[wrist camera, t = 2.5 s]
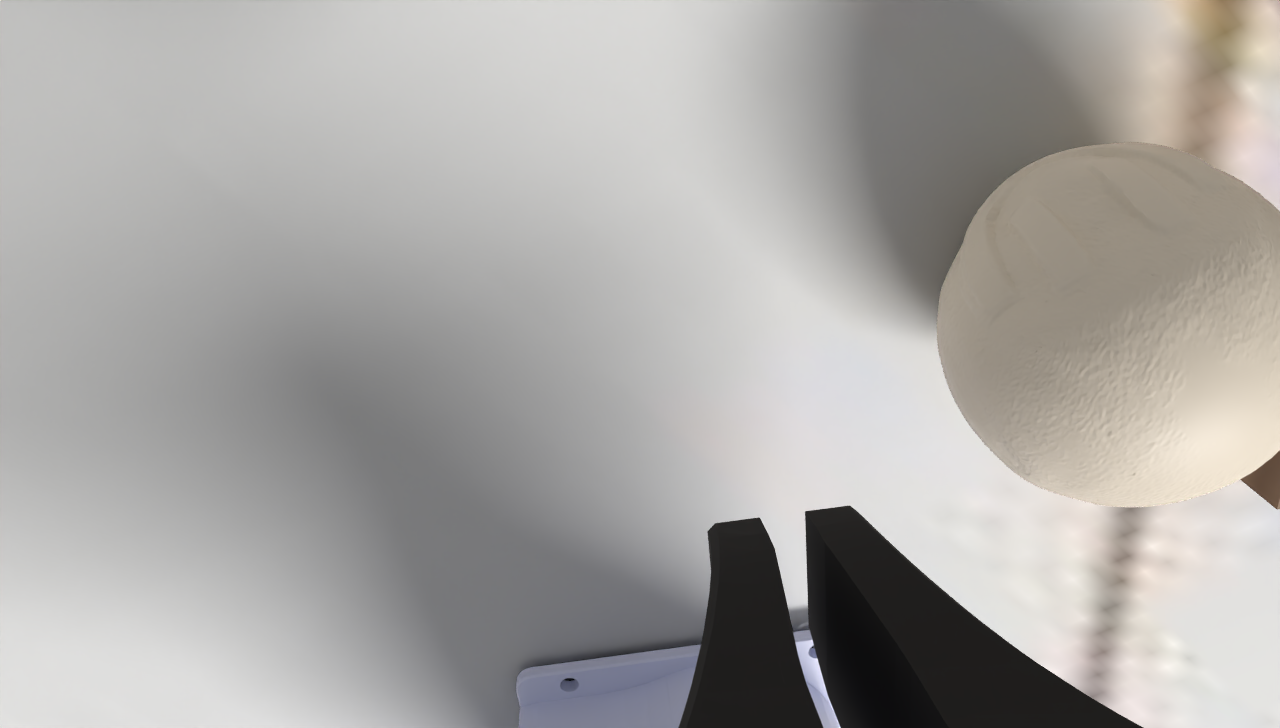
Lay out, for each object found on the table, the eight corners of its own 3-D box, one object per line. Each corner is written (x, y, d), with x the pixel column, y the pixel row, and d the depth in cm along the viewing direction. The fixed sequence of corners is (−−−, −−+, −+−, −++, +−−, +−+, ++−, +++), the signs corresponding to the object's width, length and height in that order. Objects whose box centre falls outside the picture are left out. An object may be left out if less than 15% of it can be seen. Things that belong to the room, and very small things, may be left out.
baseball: (1121, 45, 19) (1383, 99, 13) (1213, 311, 22) (1461, 457, 16) (837, 216, 20) (953, 339, 14) (961, 446, 23) (1101, 629, 17)
